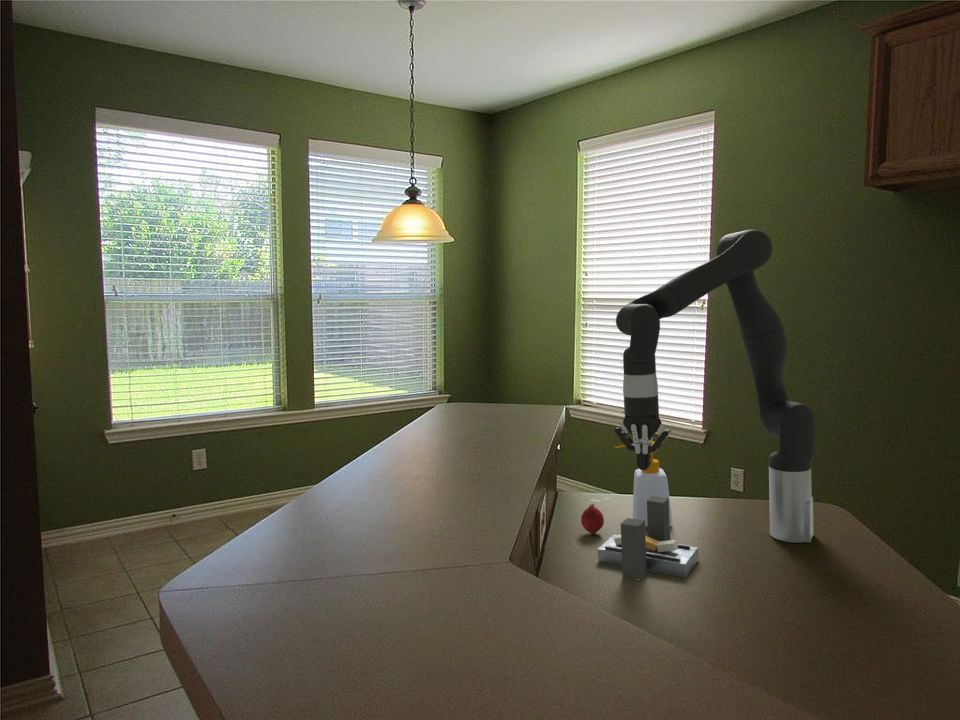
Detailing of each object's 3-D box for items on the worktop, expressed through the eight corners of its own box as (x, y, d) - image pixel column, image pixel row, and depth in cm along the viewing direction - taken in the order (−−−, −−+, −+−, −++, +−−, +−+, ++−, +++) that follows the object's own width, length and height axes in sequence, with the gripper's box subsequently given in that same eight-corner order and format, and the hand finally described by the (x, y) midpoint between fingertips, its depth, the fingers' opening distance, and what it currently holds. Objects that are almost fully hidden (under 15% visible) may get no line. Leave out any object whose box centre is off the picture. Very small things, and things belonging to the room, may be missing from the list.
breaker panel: (698, 560, 146) (697, 545, 145) (685, 577, 137) (685, 561, 137) (614, 546, 157) (613, 532, 156) (598, 561, 148) (597, 546, 148)
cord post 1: (646, 573, 140) (644, 520, 139) (640, 580, 137) (638, 526, 136) (629, 570, 143) (627, 518, 142) (622, 577, 139) (620, 523, 138)
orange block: (657, 547, 147) (659, 541, 146) (654, 551, 145) (656, 545, 144) (641, 540, 149) (642, 534, 148) (637, 544, 147) (639, 538, 146)
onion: (604, 538, 162) (602, 507, 161) (581, 538, 163) (579, 507, 163) (604, 530, 168) (603, 500, 167) (582, 529, 169) (580, 500, 168)
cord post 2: (670, 546, 155) (668, 497, 153) (665, 552, 151) (663, 502, 150) (654, 543, 157) (652, 496, 156) (648, 549, 153) (646, 500, 152)
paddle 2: (678, 546, 144) (676, 539, 144) (675, 550, 142) (673, 543, 142) (661, 548, 146) (659, 541, 146) (658, 552, 144) (656, 545, 144)
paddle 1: (635, 539, 149) (633, 533, 149) (631, 543, 147) (629, 536, 147) (619, 541, 152) (617, 534, 152) (615, 544, 150) (613, 538, 150)
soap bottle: (616, 517, 177) (612, 438, 175) (668, 516, 175) (665, 436, 173) (618, 529, 168) (615, 446, 166) (673, 529, 166) (670, 444, 164)
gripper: (675, 391, 143) (678, 467, 144) (618, 390, 150) (622, 462, 152) (664, 397, 137) (668, 476, 138) (606, 395, 144) (610, 470, 145)
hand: (644, 469), depth 145 cm, fingers closed
